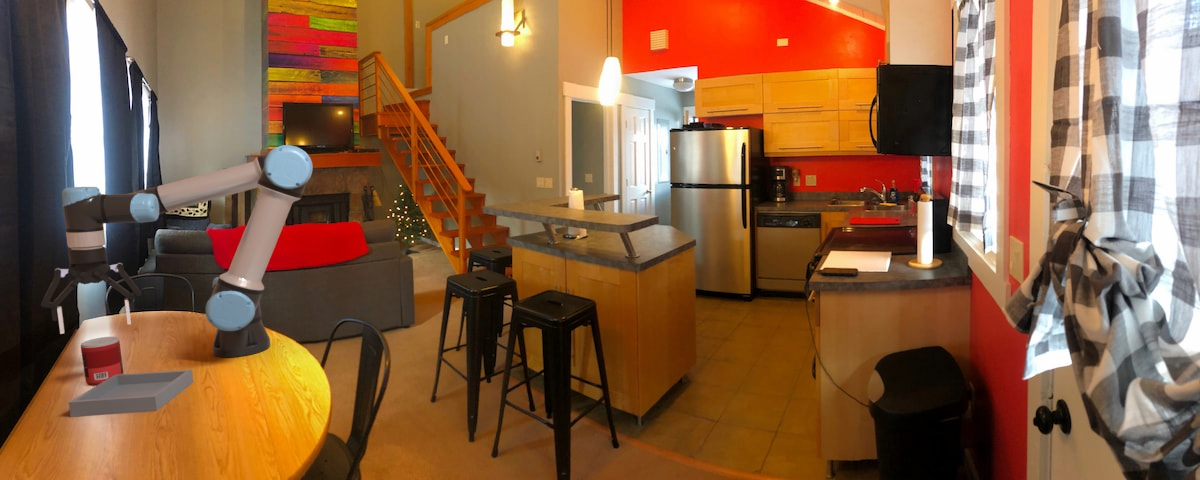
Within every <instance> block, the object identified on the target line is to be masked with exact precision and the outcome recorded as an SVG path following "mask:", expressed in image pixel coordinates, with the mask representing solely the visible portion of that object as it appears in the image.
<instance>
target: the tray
mask: <svg viewBox="0 0 1200 480" xmlns="http://www.w3.org/2000/svg"><path fill="white" fill-rule="evenodd" d="M192 384H194V374H193V370H192V369H182V370H168V371H153V372H151V371H150V372H149V371H148V372H135V373H133V372H132V373H124V374H116V375H114V376H112V377H110V378H109V379H107V380H105V381H104V382H102V383H100V384H99V385H97V386H93V387H92V388H90V389H89V390H87V391H85V392H84V393H82V394H81V395H80V394H79V396H77V397H75V398H73V399H72V400H70V401H68V409H69V415H70V418H74V417H75V418H76V417H77V418H78V417H87V416H88V417H90V416H104V415H117V414H131V413H132V414H133V413H144V412H157V411H159V410H160V409H162V408H163V407H164V406H165V405H166V404H168V403H169V402H171V401H172V400H173V399H175V397H177V396H178V395H180V394H181V393H182V392H183V391H185V390H186V389H187V388H188V387H189V386H191V385H192Z"/></svg>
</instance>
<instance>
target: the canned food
mask: <svg viewBox="0 0 1200 480" xmlns="http://www.w3.org/2000/svg"><path fill="white" fill-rule="evenodd" d="M80 352H81V359H82V366H83V373H84V381H85V383H86V384H87V385H88V386H91V387H95V386H97V385H99V384H100V383H102V382H104V381H105V380H107V379H109V378H110V377H112V376H114V375H116V374H125V373H124V367H123V366H124V365H123V358H122V349H121V343H120V338H119V336H104V337H103V336H101V337H96V338H92V339H88V340H85V341H83V342H81V343H80Z"/></svg>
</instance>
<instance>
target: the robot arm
mask: <svg viewBox="0 0 1200 480" xmlns="http://www.w3.org/2000/svg"><path fill="white" fill-rule="evenodd" d="M313 167H314V166H313V162H312V159H311V156H309V154H308V153H307V152H306V151H305V150H303V149H302V148H300V147H299V146H294V145H292V144H291V145H290V144H284V145H280V146H277V147H275V148H273V149H271V151H269V152H268V153H266V154H262V155H260V156H256V157H255V158H254V160H253V161H250V162H246V163H242V164H238V165H235V166H230V167H227V168H223V169H220V170H216V171H211V172H208V173H204V174H200V175H196V176H192V177H189V178H184V179H181V180H177V181H173V182H169V183H165V184H161V185H158V186H154V187H153V186H152V187H150V188H145V189H141V190H140V189H139V190H136V191H133V192H130V193H120V194H119V193H118V194H117V193H116V194H108V193H107V194H105V193H103V194H102V193H101V191H100V188H99V187H96V186H73V187H66V188H64V189H63V190H62V192H61V193H62V195H61V198H62V205H61V208H62V209H63V210H62V211H63V219H64V224H65V235H66V243H67V244H66V245H67V247H68V248H70V249H69V250H68V259H69V267H68V268H60V267H56V268H55V269H54V273H53V274H54V276H53V279H52V281H51V283H50V286H49V287H48V289H47V291H46V293H45V295H44V297H43V299H42V301H41V303H40V307H42V308H46V309H50V311H51V317H52V321H53V322H57V321H58V327H59V334H60V335H62V334H65V324H64V317H63V308H62V306H61V304H62V302H63V301H64V300H65V299H66V298H67V297H68V296H69V295H70V294H71V292H72V291H73V290H74V289H75V288H76V287H77V286H78V285H79V284H83V285H89V284H91V283H92V284H99V283H101V282H104V283H106V284H107V285H109V286H110V287H111V288H113V289H114V290H115V291H118V292H119V293H120V294H122V296H124V297H125V298H124V306H125V307H124V308H125V309H124V310H125V317H126V324H127V325H132V320H131V312H134V311H135V298H138V297H141V296H142V294H143V293H142V292H141V290H140V288H139V287H138V286H137V285H136V284H135V282H134V281H133V280H132V278H131V277H130V276H129V275H128V273H127V272H126V271H125V268H124V265H123V263H122V262H118V263H116V264H115V263H114V264H111V265H110V264H109V262H108V255H107V253H108V252H107V248H106V247H105V245H106V238H105V229H104V224H117V223H118V224H133V223H134V224H135V223H139V224H144V223H149V222H150V223H151V222H156V221H157V220H158V219H159V216H160V214H162V215H163V214H164V213H169V212H171V211H172V212H173V211H175V210H179V209H183V208H187V207H190V206H194V205H197V204H202V203H205V202H209V201H213V200H216V199H220V198H224V197H228V196H231V195H235V194H240V193H242V192H247V191H250V190H254V189H257V188H258V189H259V194H258V197H257V199H256V201H255V204H254V207H253V209H252V212H251V215H250V217H249V219H248V222H247V224H246V227H245V229H244V231H243V233H242V236H241V238H240V241H239V244H238V245H237V249H236V251H235V253H234V256H233V258H232V260H231V264H230V266H229V268H228V269H227V270H228V271H226V272H224V273H221V274H220V275H219V276H217V277H214V278H213V280H212V288H213V291H212V293H211V296H210V297H209V299H208V300H207V302H206V304H205V308H204V309H205V316H206V319H207V321H208V322H209V323H210V324H211V325H212V326H213V327H214V328H216V333H215V337H214V341H213V345H212V352H213V356H216V357H219V358H237V357H245V356H250V355H254V354H257V353H261V352H264V351H265V350H268V349H269V348H270V347H271V338H270V336H269V334H268V331H267V330H266V327H265V326H264V324H263V321H262V311H261V310H262V309H261V301H260V300H261V298H262V295H263V293H264V290H265V285H264V283H263V282H262V280H263V277H264V275H265V272H266V270H267V267H268V265H269V262H270V259H271V257H272V255H273V253H274V251H275V248H276V245H277V242H278V239H279V237H280V235H281V232H282V230H283V227H284V225H285V223H286V220H287V218H288V216H289V213H290V210H291V207H292V205H293V203H294V202H297V201H299V200H301V199H302V197H303V194H304V191H305V188H306V187H307V184H308V181H309V180H310V178H311V177H312V174H313ZM111 270H113V271H114V272H115V273H118V274H119V275H120V277H121V278H122V279H123V280H124V282H125V283H126V284H127V285H128V286H129V288H130V289H131V290H132V292H130V291H129V290H128V289H126V288H124V287H123V286H122V285H120V284H119V283H118V282H117V281H115V280H114V279H113V278H111V277H110V276H108V274H109V273H110V272H111ZM67 274H69V276H71V277H72V278H73V279H72V280H71V281H70V282H69V284H68V285H67V286H66V287H65V288H64V289H63V290H62V291H61V293H59V295H57V297H56V298H55V299H54V300H53V302H52V301H51V298H52V297H53V295H54V293H55V291H56V290H57V287H58V286H59V283H60V281H61V278H65V277H66V275H67Z"/></svg>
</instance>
